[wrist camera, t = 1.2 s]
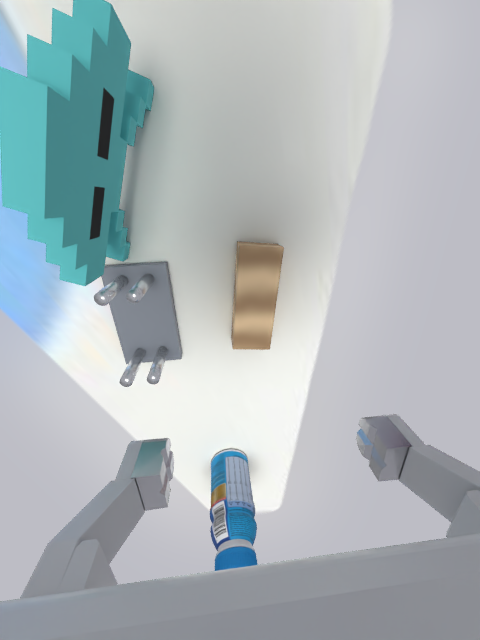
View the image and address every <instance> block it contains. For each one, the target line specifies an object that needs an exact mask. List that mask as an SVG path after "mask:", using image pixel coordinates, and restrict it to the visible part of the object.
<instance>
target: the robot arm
mask: <svg viewBox="0 0 480 640" xmlns="http://www.w3.org/2000/svg"><path fill="white" fill-rule="evenodd" d="M359 426H360V427H361V429H360V430H359V431H358V432H357V437H356V439H357V444H358V447H359V450H360V452H361V454H362V455H363V456H364V457H365V458H367V459H368V460H369V467H370V468H371V470H372V472H373V473H374V475H375V476H376V478H377V479H378V481H388V480H399V481H400V482H401V483H403V484H404V485H405V486H407V487H408V488H409V489H410V490H411V491H413V492H414V493H415V494H416V495H418V496H419V497H420V498H421V499H423V500H424V501H425V502H426V503H428V504H429V505H430V506H431V507H433V508H434V509H435V510H436V511H438V512H439V513H440V514H441V515H443V516H444V517H445V518H446V519H448V520H449V521H450V522H451V525H450V527H449V529H448V531H447V535H446V537H447V538H444V539H436V540H429V541H422V542H415V543H409V544H401V545H394V546H387V547H380V548H373V549H366V550H359V551H352V552H344V553H337V554H331V555H323V556H316V557H309V558H303V559H295V560H288V561H281V562H274V563H267V564H260V565H253V566H246V567H239V568H232V569H225V570H218V571H211V572H204V573H197V574H190V575H184V576H176V577H170V578H162V579H155V580H148V581H141V582H134V583H127V584H120V585H117V582H116V579H115V577H114V574H113V572H112V570H111V568H110V566H109V564H110V562H111V561H112V559H113V558H114V557H115V555H116V554H117V552H118V551H119V549H120V548H121V546H122V545H123V543H124V542H125V540H126V539H127V537H128V536H129V535H130V533H131V532H132V530H133V529H134V527H135V526H136V524H137V523H138V521H139V520H140V518H141V517H142V516H143V514H144V512H145V510H152V509H159V508H165V507H168V502H169V496H170V490H171V489H170V484H169V481H170V480H171V479H172V477H173V470H174V458H173V452H172V451H170V447H171V442H170V439H169V438H164V439H151V440H140V441H131V442H130V444H129V445H128V447H127V450H126V453H125V456H124V458H123V461H122V463H121V466H120V469H119V471H118V474H117V477H116V479H115V481H111V482H110V483H109V484H108V485H107V486H105V488H104V489H102V490H101V492H99V493H98V494H97V495H96V496H95V497H94V499H92V500H91V502H89V503H88V504H87V505H86V506H85V507H84V508H83V509H82V510H81V511H80V512H79V513H78V514H77V516H75V517H74V518H73V519H72V520H71V521H70V522H69V523H68V524H67V525H66V526H65V527H64V528H63V529H62V530H61V531H60V532H59V533H58V534H57V535H56V536H55V537H54V538H53V539H52V540H51V541H50V542H49V543H48V545H47V546H46V548H45V550H44V553H43V554H42V556H41V558H40V560H39V562H38V564H37V566H36V568H35V570H34V572H33V574H32V576H31V578H30V580H29V582H28V584H27V586H26V588H25V590H24V592H23V594H22V595H21V597H20V599H15V600H7V601H0V640H480V472H479V471H477V470H475V469H474V468H472V467H470V466H468V465H466V464H464V463H462V462H461V461H459V460H457V459H455V458H453V457H451V456H449V455H447V454H446V453H444V452H442V451H440V450H438V449H436V448H434V447H432V446H431V445H425V444H424V443H423V442H422V440H420V438H419V437H418V436H417V435H416V434H415V433H414V432H413V431H412V430H411V429H410V427H409V426H408V425H407V424H406V423H405V422H404V421H403V420H402V419H401V418H400V417H399V416H398V415H396V414H393V415H384V416H383V415H382V416H374V417H365V418H361V419H360V421H359Z"/></svg>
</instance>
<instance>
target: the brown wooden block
mask: <svg viewBox="0 0 480 640" xmlns="http://www.w3.org/2000/svg"><path fill="white" fill-rule="evenodd" d="M283 250H284V248H283V247H282V246H280V245H278V244H271V243H254V242H237V253H236V269H235V286H234V302H233V318H232V335H231V340H232V347H233V349H270V344H271V337H272V330H273V322H274V315H275V308H276V301H277V293H278V286H279V279H280V272H281V264H282V257H283Z"/></svg>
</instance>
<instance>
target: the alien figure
mask: <svg viewBox="0 0 480 640" xmlns="http://www.w3.org/2000/svg"><path fill="white" fill-rule="evenodd" d="M130 49H131V42H130V40H129V38H128V36H127V34H126V32H125V30H124V28H123V26H122V24H121V22H120V20H119V18H118V16H117V14H116V12H115V10H114V9H113V7H112V5H111V4H110V3H108V2H106V1H104V0H73V17H71V16H69V15H67V14H65V13H62V12H60V11H58V10H56V9H54V8H53V9H52V45H51V44H49V43H46V42H44V41H42V40H39V39H37V38H35V37H33V36H30V35H28V34H27V77H25V76H22V75H20V74H17V73H15V72H12V71H10V70H7V69H5V68H3V67H0V149H1V175H2V201H3V206H4V207H7V208H10V209H14V210H17V211H20V212H24V213H27V214H28V239H31V240H35V241H38V242H42V243H45V244H46V262H48V263H52V264H56V265H59V266H60V280H63V281H67V282H71V283H75V284H79V285H82V286H86V285H88V284H89V283H91V282H93V281H94V280H96V279H97V278H99V277H100V276H102V275H103V274H104V267H105V259H106V257H109V258H113V259H116V260H120V261H125V260H126V259H128V255H129V249H130V243H129V242H126V238H127V231H128V228H125V227H123V221H124V214H125V211H123V210H120V209H119V204H120V196H121V188H122V181H123V173H124V165H125V157H126V150H127V144H128V145H131V146H133V147H134V142H135V135H136V128H137V126H138V127H141V128H143V122H144V116H145V109H147V110H149V111H151V106H152V99H153V93H154V87H153V85H152V83H151V81H150V79H148V78H146V77H143V76H141V75H139V74H137V73H135V72H132V71H130V70H128V65H129V57H130Z"/></svg>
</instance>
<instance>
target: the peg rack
mask: <svg viewBox="0 0 480 640" xmlns="http://www.w3.org/2000/svg"><path fill="white" fill-rule="evenodd" d="M101 277H102V280H103V284H104V288H103V289H102V290H100V291H99V292H98V293H96V294H95V296H94V300H95V302H96V303H97V304H98V305H101V306H104V305H107V304H108V303H109V305H110V308H111V312H112V315H113V319H114V322H115V326H116V329H117V333H118V336H119V340H120V344H121V347H122V351H123V354H124V358H125V361H126V364H128V366H127V368H126V370H125V372H124V374H123V376H122V377H121V379H120V384H121V385H122V386H125V387H129V386H131V385H132V383H133V380H134V378H135V376H136V374H137V371H138V369H139V367H140V365H141V363H142V362H153V364H152V366H151V369H150V372H149V374H148V377H147V381H148V382H149V383H150V384H157V383H158V382H159V379H160V376H161V372H162V369H163V366H164V362H165V360H176V359H181V358H182V350H181V344H180V337H179V331H178V325H177V319H176V313H175V307H174V301H173V295H172V289H171V283H170V277H169V271H168V265H167V262H155V263H138V264H121V265H105V267H104V274H103V275H102V276H101Z"/></svg>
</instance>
